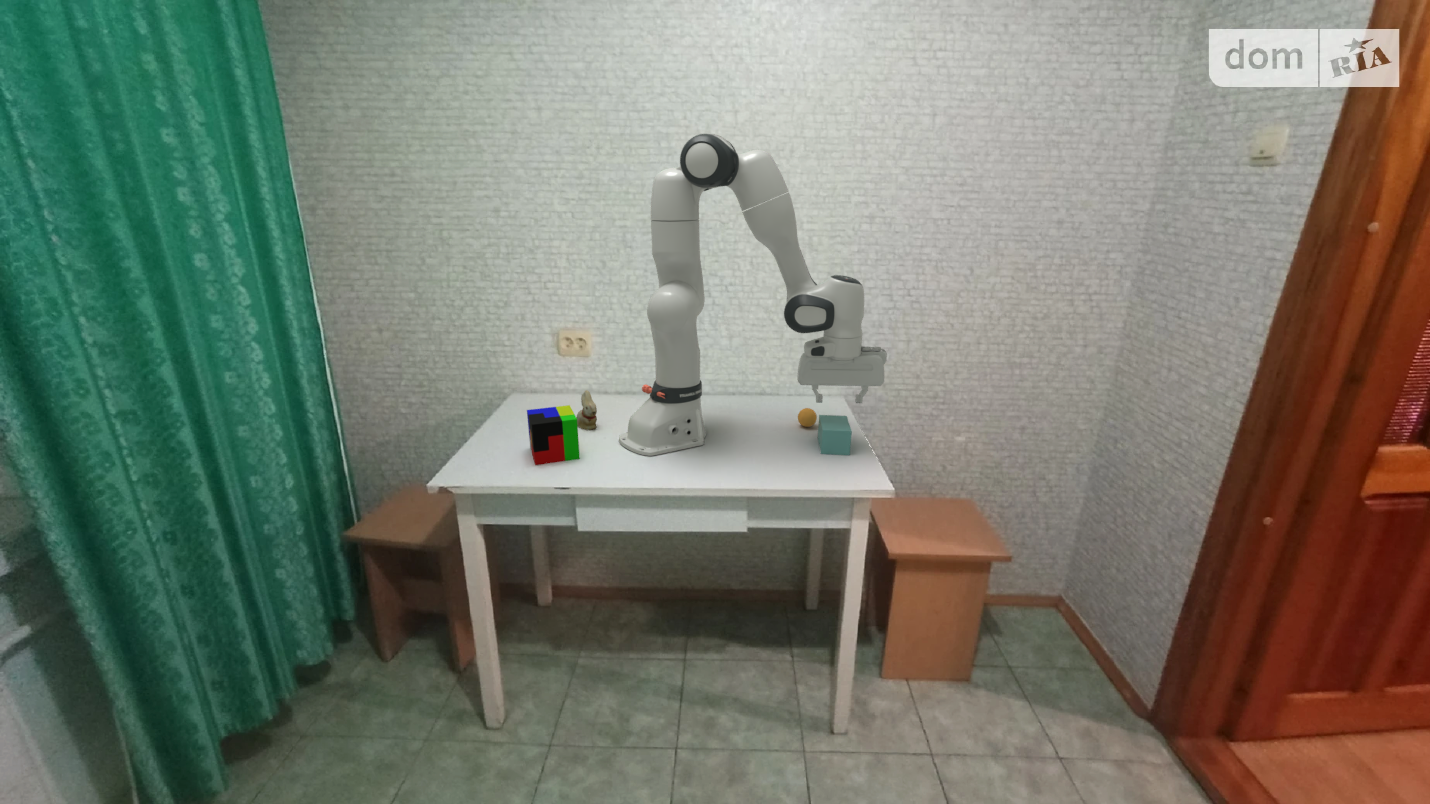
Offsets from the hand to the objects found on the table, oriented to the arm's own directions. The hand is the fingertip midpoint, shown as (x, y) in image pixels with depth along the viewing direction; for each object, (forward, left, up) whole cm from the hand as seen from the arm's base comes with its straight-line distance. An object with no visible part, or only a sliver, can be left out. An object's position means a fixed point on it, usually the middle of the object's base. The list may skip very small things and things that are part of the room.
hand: (838, 402), depth 152 cm
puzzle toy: (-55, +39, -12) cm, 69 cm away
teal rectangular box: (0, 0, -12) cm, 12 cm away
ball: (+5, +13, -9) cm, 17 cm away
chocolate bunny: (-40, +50, -12) cm, 66 cm away
